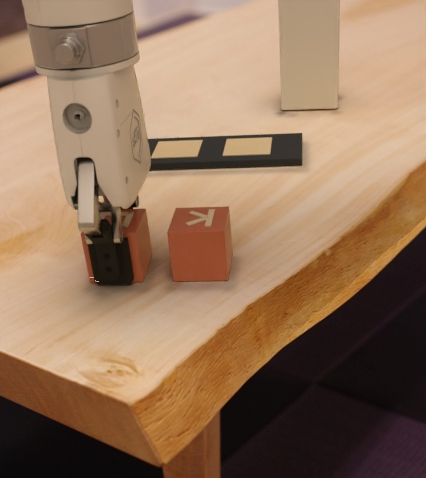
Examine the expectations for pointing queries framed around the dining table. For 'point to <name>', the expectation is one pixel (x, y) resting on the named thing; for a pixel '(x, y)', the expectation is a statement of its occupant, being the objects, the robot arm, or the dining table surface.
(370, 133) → the dining table surface
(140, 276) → the red letter o block
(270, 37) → the dining table surface
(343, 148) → the dining table surface
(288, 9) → the milk carton
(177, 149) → the word mat
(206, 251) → the red letter k block
